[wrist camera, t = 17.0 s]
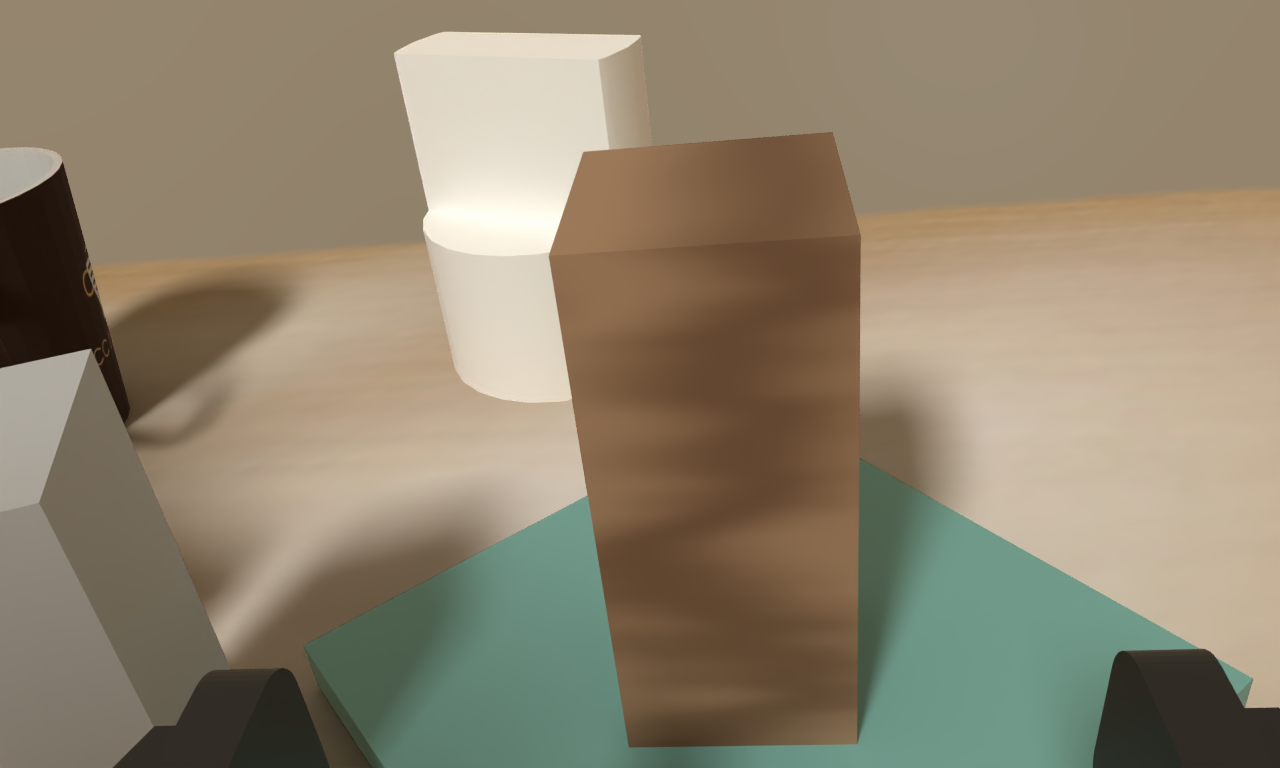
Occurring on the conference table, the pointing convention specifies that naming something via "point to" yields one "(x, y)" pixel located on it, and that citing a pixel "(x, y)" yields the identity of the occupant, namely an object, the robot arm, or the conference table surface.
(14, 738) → the grey brick
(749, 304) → the walnut brick
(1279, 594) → the conference table surface
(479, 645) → the teal board
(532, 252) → the base with upright slab
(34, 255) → the coffee mug
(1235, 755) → the robot arm
